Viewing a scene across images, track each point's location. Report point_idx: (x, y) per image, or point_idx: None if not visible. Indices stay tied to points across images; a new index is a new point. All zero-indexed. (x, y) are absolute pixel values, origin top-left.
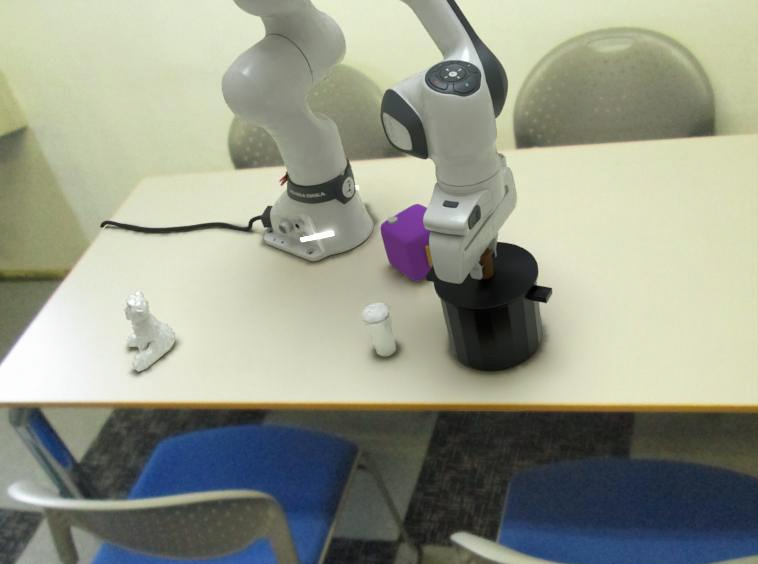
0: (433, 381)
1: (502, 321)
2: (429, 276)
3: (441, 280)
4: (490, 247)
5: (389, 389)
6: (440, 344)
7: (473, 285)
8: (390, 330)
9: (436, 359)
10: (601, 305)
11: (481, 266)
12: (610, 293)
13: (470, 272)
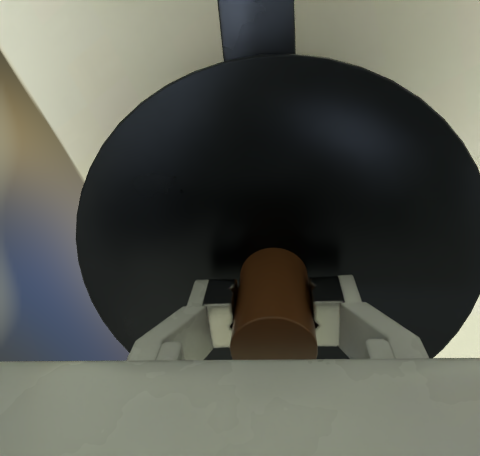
0: (95, 104)
1: None
2: (220, 10)
3: (168, 132)
4: (346, 338)
5: (13, 8)
6: (204, 45)
7: (196, 267)
8: None
9: (155, 68)
10: None
11: (219, 343)
12: (472, 318)
13: (191, 294)
